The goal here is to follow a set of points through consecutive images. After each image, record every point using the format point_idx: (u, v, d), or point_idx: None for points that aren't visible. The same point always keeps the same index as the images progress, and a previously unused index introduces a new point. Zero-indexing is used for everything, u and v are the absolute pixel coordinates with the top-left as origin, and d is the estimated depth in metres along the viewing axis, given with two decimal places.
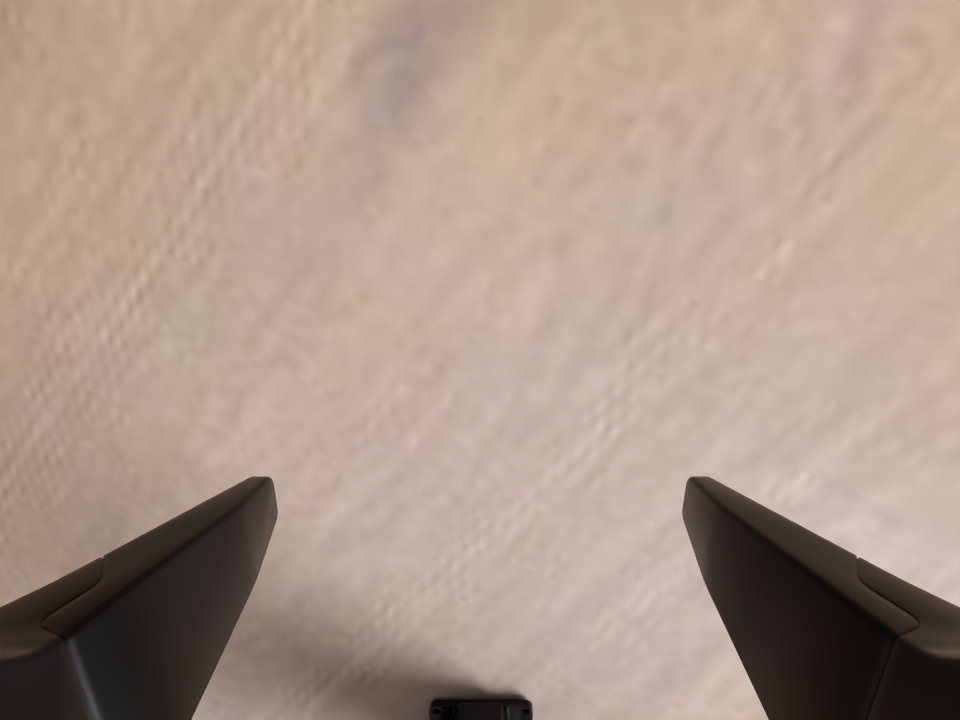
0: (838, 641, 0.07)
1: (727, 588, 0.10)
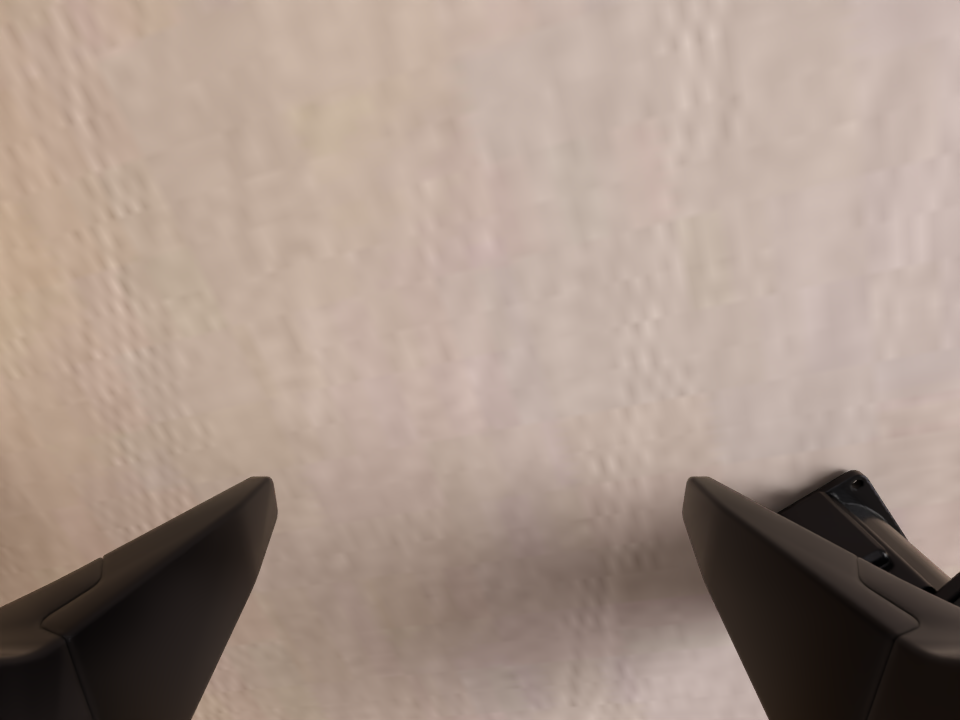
0: (839, 641, 0.07)
1: (727, 588, 0.10)
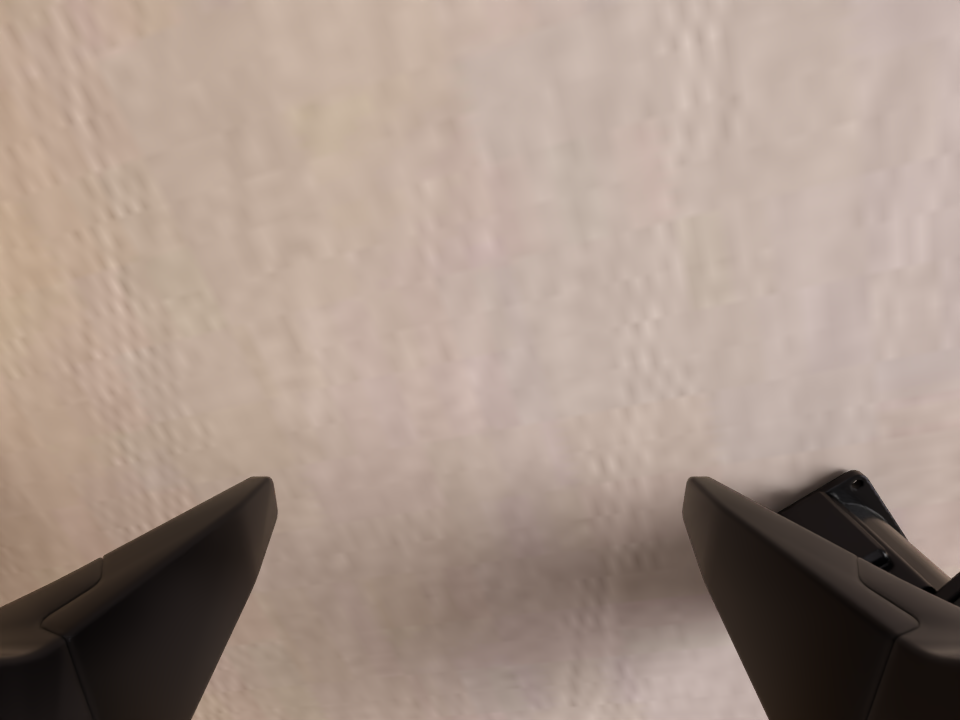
0: (839, 641, 0.07)
1: (727, 588, 0.10)
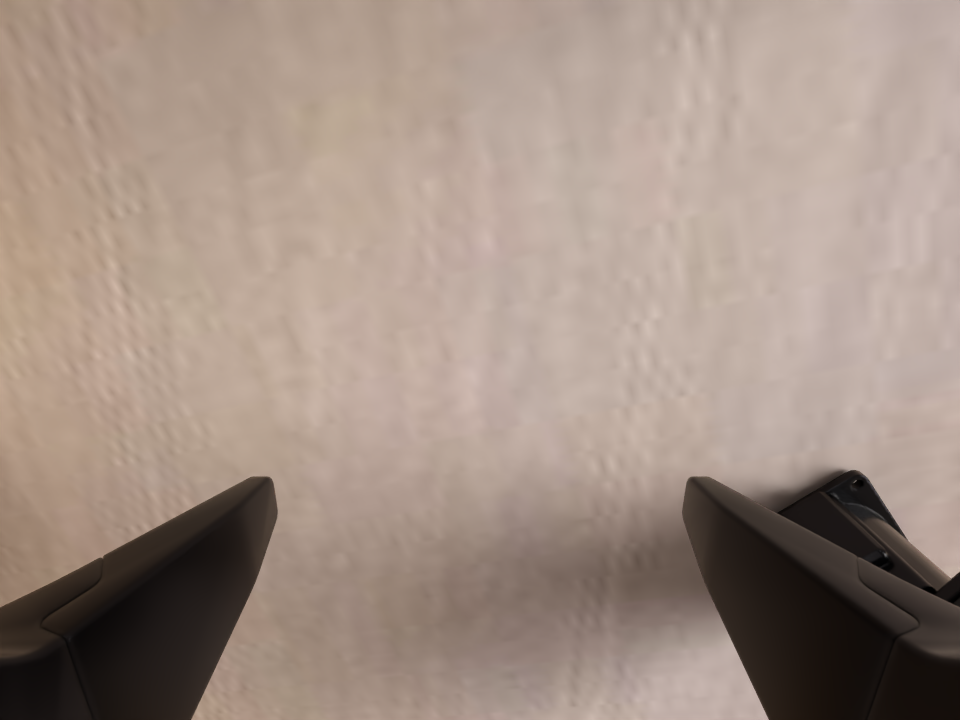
0: (839, 641, 0.07)
1: (727, 588, 0.10)
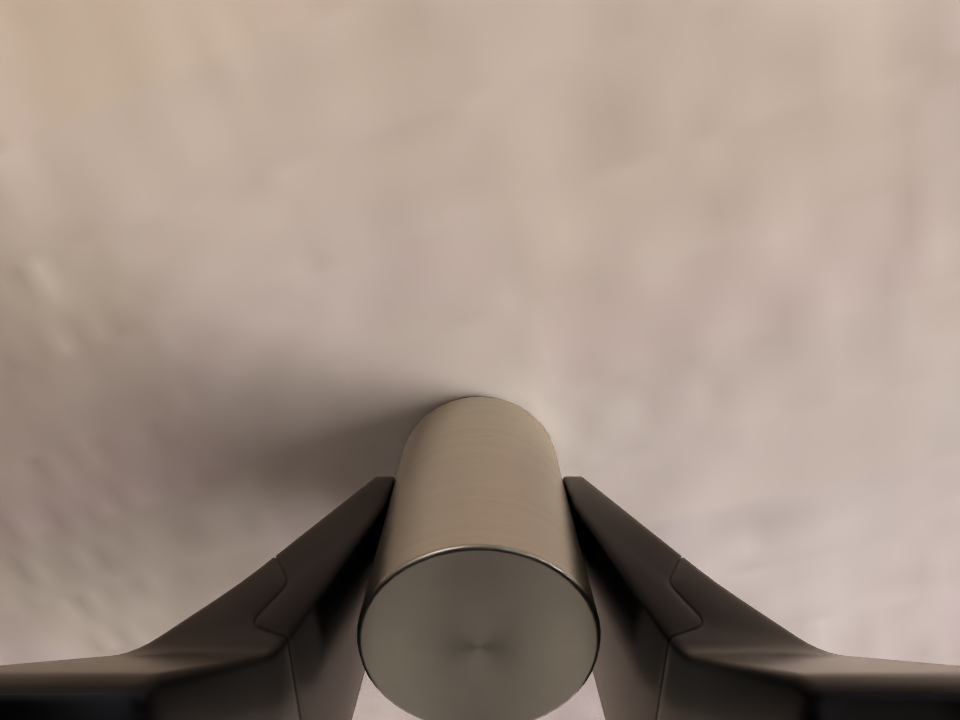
0: (640, 641, 0.07)
1: None
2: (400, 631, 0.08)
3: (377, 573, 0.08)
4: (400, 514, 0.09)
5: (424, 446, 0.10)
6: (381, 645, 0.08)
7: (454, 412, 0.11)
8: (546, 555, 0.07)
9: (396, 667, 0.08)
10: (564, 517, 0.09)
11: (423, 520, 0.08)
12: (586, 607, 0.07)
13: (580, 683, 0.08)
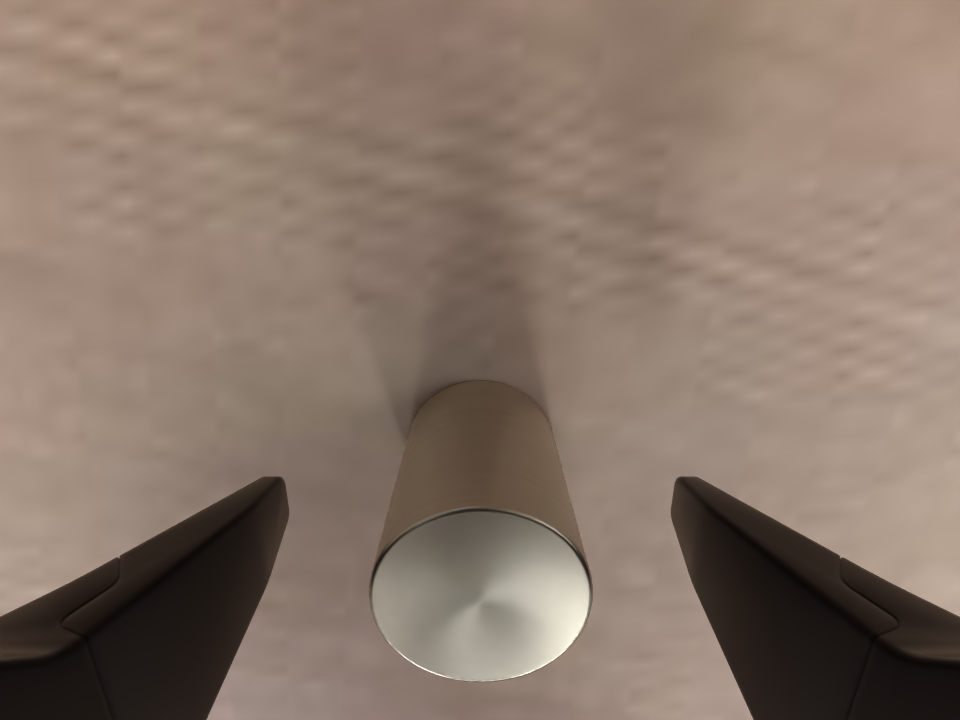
0: (820, 641, 0.07)
1: (713, 588, 0.10)
2: (409, 587, 0.08)
3: (388, 534, 0.08)
4: (409, 483, 0.09)
5: (429, 425, 0.11)
6: (391, 600, 0.08)
7: (457, 394, 0.12)
8: (542, 515, 0.08)
9: (404, 621, 0.09)
10: (560, 487, 0.10)
11: (429, 486, 0.09)
12: (579, 565, 0.08)
13: (575, 638, 0.09)
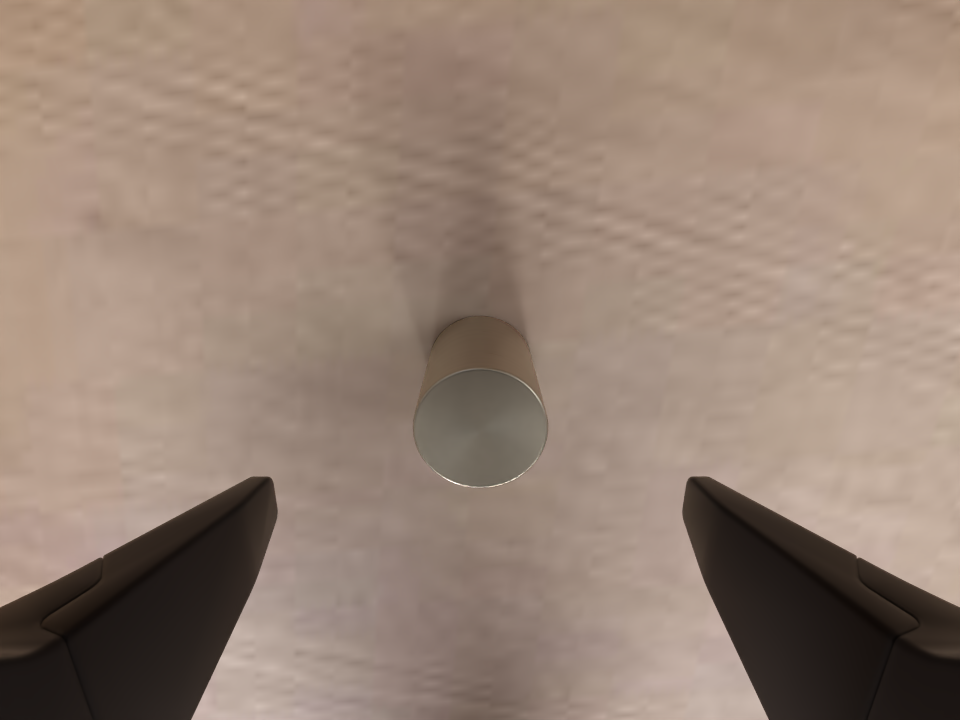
0: (838, 641, 0.07)
1: (727, 588, 0.10)
2: (437, 420, 0.14)
3: (424, 390, 0.14)
4: (435, 367, 0.15)
5: (446, 340, 0.17)
6: (426, 430, 0.14)
7: (464, 323, 0.17)
8: (517, 375, 0.14)
9: (434, 444, 0.14)
10: (530, 371, 0.15)
11: (449, 363, 0.14)
12: (539, 405, 0.14)
13: (537, 458, 0.14)
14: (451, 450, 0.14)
